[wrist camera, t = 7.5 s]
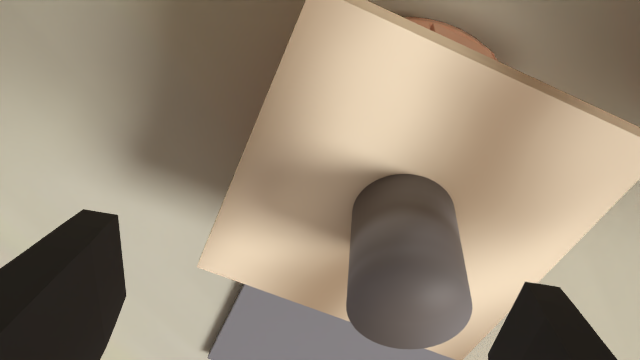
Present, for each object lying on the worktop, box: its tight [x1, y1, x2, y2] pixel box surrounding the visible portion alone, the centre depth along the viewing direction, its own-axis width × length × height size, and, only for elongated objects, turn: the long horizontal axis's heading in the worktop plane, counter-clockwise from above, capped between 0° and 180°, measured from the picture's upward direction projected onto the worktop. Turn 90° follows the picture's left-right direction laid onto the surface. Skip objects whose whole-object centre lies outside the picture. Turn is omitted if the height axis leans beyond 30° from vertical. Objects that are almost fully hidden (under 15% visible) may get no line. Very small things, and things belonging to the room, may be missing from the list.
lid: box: [197, 0, 640, 360], centre depth 15 cm, size 10×10×4 cm
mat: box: [208, 284, 455, 360], centre depth 26 cm, size 11×11×1 cm
